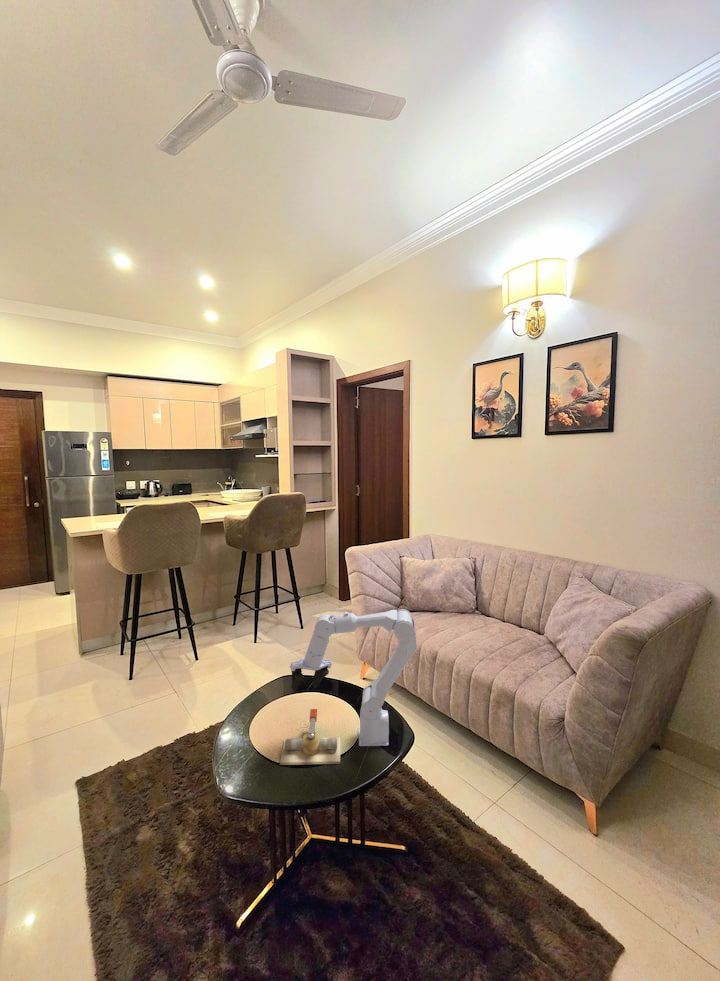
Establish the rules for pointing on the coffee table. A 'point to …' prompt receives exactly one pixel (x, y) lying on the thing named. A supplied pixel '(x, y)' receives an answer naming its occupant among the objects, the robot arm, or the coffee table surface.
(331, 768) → the coffee table surface
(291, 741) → the valve fixture
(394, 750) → the coffee table surface
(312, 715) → the valve lever
